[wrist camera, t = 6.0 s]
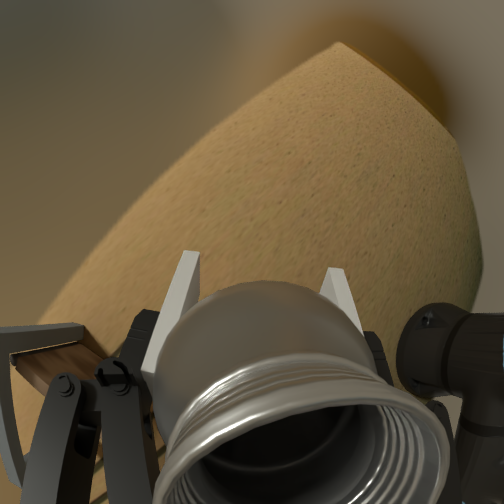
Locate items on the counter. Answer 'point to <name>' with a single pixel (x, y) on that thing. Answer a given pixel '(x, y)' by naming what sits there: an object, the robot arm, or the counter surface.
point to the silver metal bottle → (286, 408)
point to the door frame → (3, 418)
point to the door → (55, 364)
